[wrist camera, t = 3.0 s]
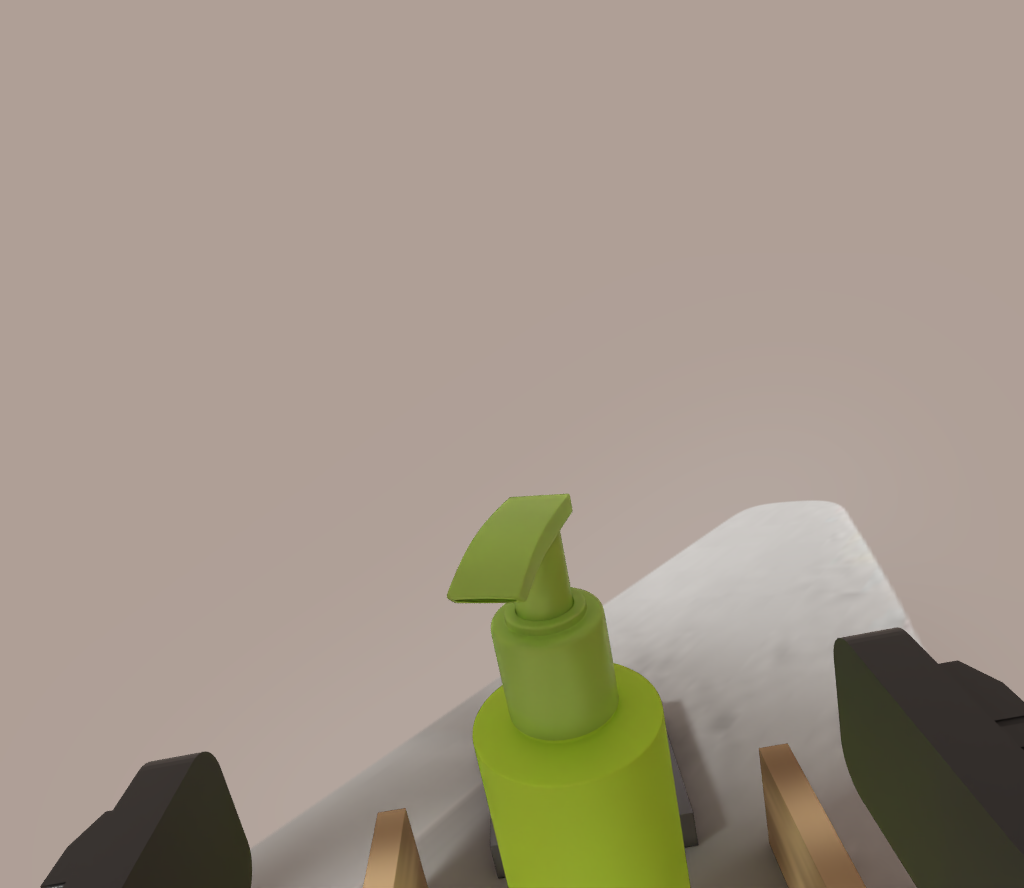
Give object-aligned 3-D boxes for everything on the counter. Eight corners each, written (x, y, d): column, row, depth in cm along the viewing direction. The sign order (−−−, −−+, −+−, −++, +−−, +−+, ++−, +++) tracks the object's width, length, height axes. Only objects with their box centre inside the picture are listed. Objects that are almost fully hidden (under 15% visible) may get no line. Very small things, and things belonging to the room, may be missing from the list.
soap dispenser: (516, 1130, 25) (367, 580, 19) (566, 935, 31) (465, 476, 25) (703, 1175, 23) (600, 575, 17) (716, 956, 29) (644, 463, 23)
